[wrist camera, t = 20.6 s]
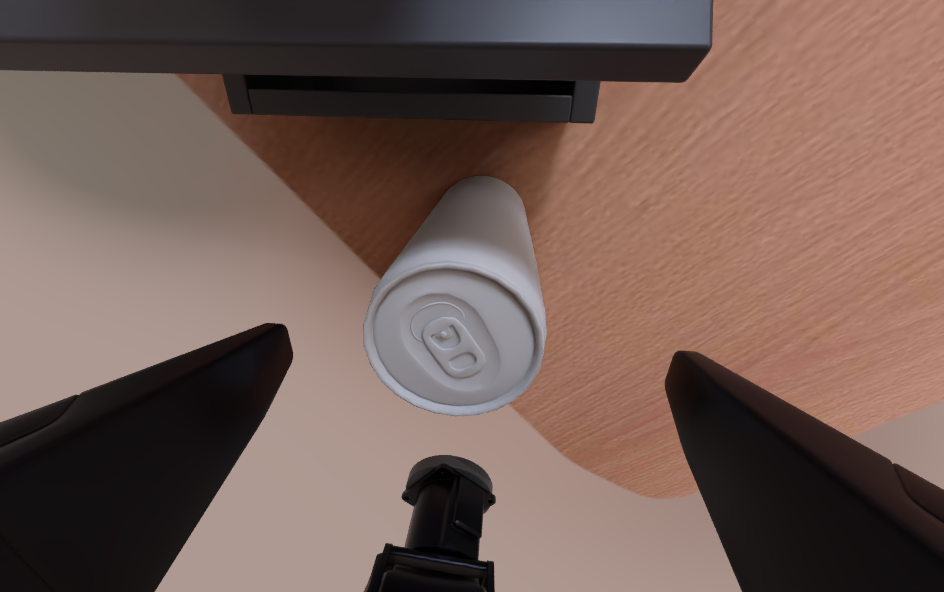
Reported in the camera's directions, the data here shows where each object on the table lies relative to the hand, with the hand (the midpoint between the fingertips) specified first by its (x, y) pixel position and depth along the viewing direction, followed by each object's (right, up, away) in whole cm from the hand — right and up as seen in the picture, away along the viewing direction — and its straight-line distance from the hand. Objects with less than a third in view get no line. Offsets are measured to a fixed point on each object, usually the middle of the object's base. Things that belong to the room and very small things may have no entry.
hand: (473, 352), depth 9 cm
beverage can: (+1, +5, +11) cm, 13 cm away
